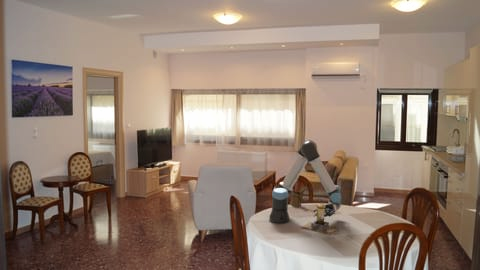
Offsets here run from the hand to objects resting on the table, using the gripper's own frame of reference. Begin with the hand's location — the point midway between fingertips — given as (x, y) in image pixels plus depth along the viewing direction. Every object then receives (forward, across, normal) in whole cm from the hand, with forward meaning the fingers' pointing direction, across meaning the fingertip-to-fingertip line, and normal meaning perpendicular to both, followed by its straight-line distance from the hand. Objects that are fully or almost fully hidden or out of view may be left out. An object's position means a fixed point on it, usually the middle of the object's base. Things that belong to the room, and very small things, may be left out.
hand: (317, 215), depth 272 cm
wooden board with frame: (-5, 0, -10) cm, 12 cm away
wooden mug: (-55, +40, -10) cm, 69 cm away
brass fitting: (-5, 0, -8) cm, 9 cm away
